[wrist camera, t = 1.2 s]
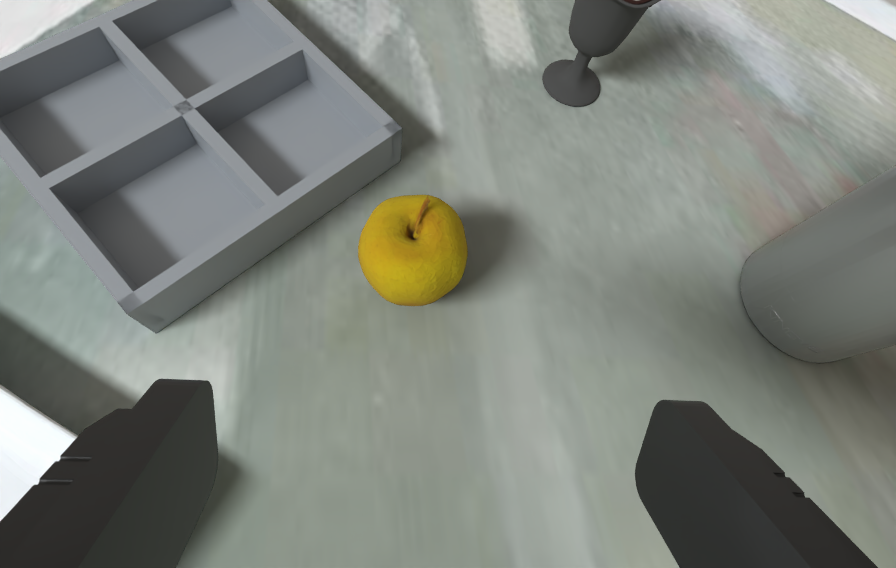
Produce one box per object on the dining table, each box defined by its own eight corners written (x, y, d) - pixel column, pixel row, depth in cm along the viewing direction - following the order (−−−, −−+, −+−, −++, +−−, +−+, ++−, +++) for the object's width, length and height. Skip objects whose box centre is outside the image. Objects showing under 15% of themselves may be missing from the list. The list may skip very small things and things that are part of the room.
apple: (441, 226, 34) (458, 156, 27) (469, 310, 32) (495, 259, 25) (351, 245, 33) (342, 176, 25) (373, 334, 31) (371, 287, 23)
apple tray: (237, 3, 39) (224, -40, 36) (400, 161, 36) (402, 128, 32) (-14, 124, 33) (-58, 84, 29) (156, 333, 29) (127, 314, 26)
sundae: (583, 129, 39) (694, -62, 25) (517, 83, 40) (588, -127, 26) (624, 85, 42) (745, -113, 28) (560, 41, 42) (646, -170, 29)
